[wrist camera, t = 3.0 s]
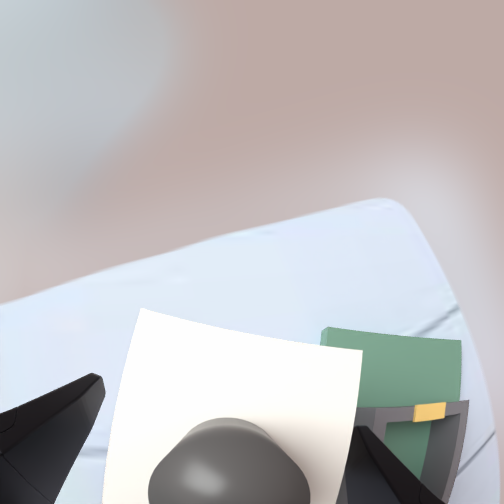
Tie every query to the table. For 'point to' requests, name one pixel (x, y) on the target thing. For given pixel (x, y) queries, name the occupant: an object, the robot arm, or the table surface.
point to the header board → (410, 401)
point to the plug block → (229, 418)
